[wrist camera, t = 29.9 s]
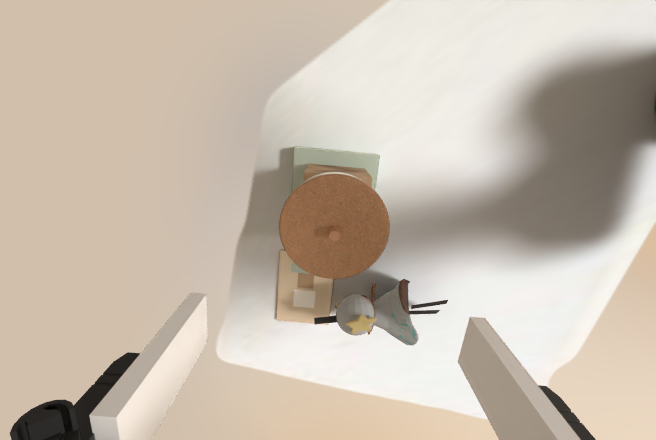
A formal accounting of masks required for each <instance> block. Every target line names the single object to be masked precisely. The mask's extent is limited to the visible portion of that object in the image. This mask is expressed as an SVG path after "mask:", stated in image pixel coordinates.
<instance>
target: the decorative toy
mask: <svg viewBox="0 0 656 440" xmlns="http://www.w3.org/2000/svg"><path fill="white" fill-rule="evenodd" d="M409 282H410V281H408V280H405V279H403V280H401V281H399V283H398V284H397V285H396V286H395V288H394V289H393V290H392V291H390V292H387V293H386V294H384V295H382V296H381V297H380V298H378V299H377V300H374V297H375V296H374V295H375V294H374V291H375V290H374V288H375V285H376V284H375V283H373V287H372V290H371V291H372V302H371V301H370V300H369V299H368V298H367V297H366V296H362V295H359V294H354V295H349V296H347V297H345V298H344V299H343V300H342V301H341V302H340V304H337V305H335V307H336V308H337V311H336V316H328V317H317V318H314V323H315V324H323V323H333V322H338V324H339V326H340V328H341V329H342V330H343V331H345V332H346V333H348V334H351V335H362V334H365V333H366V332H368V334H370V332H371V331H372V329H373V326H374V325H375V326H378V327H380V328H382V329H384V330H385V331H387V332H388V333H389V334H391V335H392V336H394V337H395V338H397V339H398V340H400V341H402V342H403V343H405V344H407V345H414V344H416V343H417V341H418V334H417V332H416V330H415V328H414V326H413V325H412V322H411V319H410V315H409V314H436V313H437V312H439V311H440V310H427V311H409V307H408V283H409ZM447 301H448V300H445V301H438V302H432V303H425V304H418V305H412V306H411V309H414V308H420V307H427V306H434V305H440V304H446V303H447ZM371 328H372V329H371ZM370 329H371V330H370Z"/></svg>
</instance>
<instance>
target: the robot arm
mask: <svg viewBox="0 0 656 440" xmlns="http://www.w3.org/2000/svg"><path fill="white" fill-rule="evenodd" d="M207 341H208V332H207V299H206V294H198V293H190V294H189V296H188V297H187V298H186V299H185V300H184V302H183V303H182V304H181V305H180V306H179V308H178V309H177V310H176V311H175V312H174V314H173V315H172V316H171V317H170V318H169V320H168V321H167V322H166V323H165V325H164V326H163V327H162V328H161V329H160V330H159V332H158V333H157V334H156V335H155V337H154V338H153V339H152V340H151V341H150V343H149V344H148V345H147V346H146V347H145V349H144V350H143V351H142V352H141V353H126V354H125V355H123V356H122V357H120V358H119V359H117V360H116V361H114V362H113V363H112V364H111V365H110V366H109V368H108V369H107V370H106V371H105V372H104V373H103V375H101V376H100V377H99V378H98V380H97V381H96V382H95V384H94V385H92V386H91V387H90V388H89V389H88V391H87V392H86V393H85V394H84V395H83V396H82V397H81V398H80V399H79V400H78V402H77V403H76V404H75V405H74V406H73V404H72V403H71V402H69V401H67V400H54V401H50V402H46V403H43V404H41V405H39V406H37V407H35V408H33V409H31V410H30V411H28V412H27V413H25V414H24V415H23V416H21V417H20V418H19V419H18V421H17V422H16V423H15V424H14V425H13V427H12V430H11V432H10V436H11V439H12V440H152V438H153V436H154V435H155V433H156V431H157V429H158V427H159V426H160V424H161V422H162V421H163V419H164V417H165V415H166V413H167V412H168V410H169V408H170V406H171V405H172V403H173V401H174V399H175V398H176V396H177V394H178V392H179V391H180V389H181V387H182V385H183V383H184V382H185V380H186V378H187V376H188V375H189V373H190V371H191V369H192V367H193V366H194V364H195V362H196V360H197V359H198V357H199V355H200V353H201V352H202V350H203V348H204V346H205V345H206V343H207ZM458 363H459V365H460V367H461V369H462V371H463V372H464V374H465V376H466V378H467V380H468V382H469V384H470V386H471V388H472V389H473V391H474V393H475V395H476V397H477V399H478V401H479V403H480V404H481V406H482V408H483V410H484V412H485V414H486V416H487V418H488V420H489V421H490V423H491V425H492V427H493V429H494V431H495V433H496V435H497V437H498V438H499V440H595V438H594V437H593V436H592V435H591V434H590V432H589V431H588V430H587V429H586V428H585V426H584V425H583V424H582V423H580V421H579V419H577V417H576V416H575V415H574V413H572V412H571V410H570V408H569V407H568V406H567V405H566V404H565V403H564V401H563V400H562V399H561V398H560V397H559V396H558V395H557V394H555V393H554V392H553V391H552V390H550V389H549V388H548V387H547V386H538V385H537V384H536V382H535V381H534V380H533V379H532V377H531V376H530V375H529V373H528V372H527V371H526V370H525V368H524V367H523V366H522V365H521V363H520V362H519V361H518V359H517V358H516V357H515V356H514V354H513V353H512V352H511V351H510V349H509V348H508V347H507V345H506V344H505V343H504V342H503V340H502V339H501V338H500V337H499V335H498V334H497V333H496V332H495V330H494V329H493V328H492V326H491V325H490V324H489V323H488V321H487V320H486V319H485V318H477V317H470V318H469V322H468V326H467V330H466V333H465V337H464V341H463V344H462V348H461V352H460V355H459V359H458Z"/></svg>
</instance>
